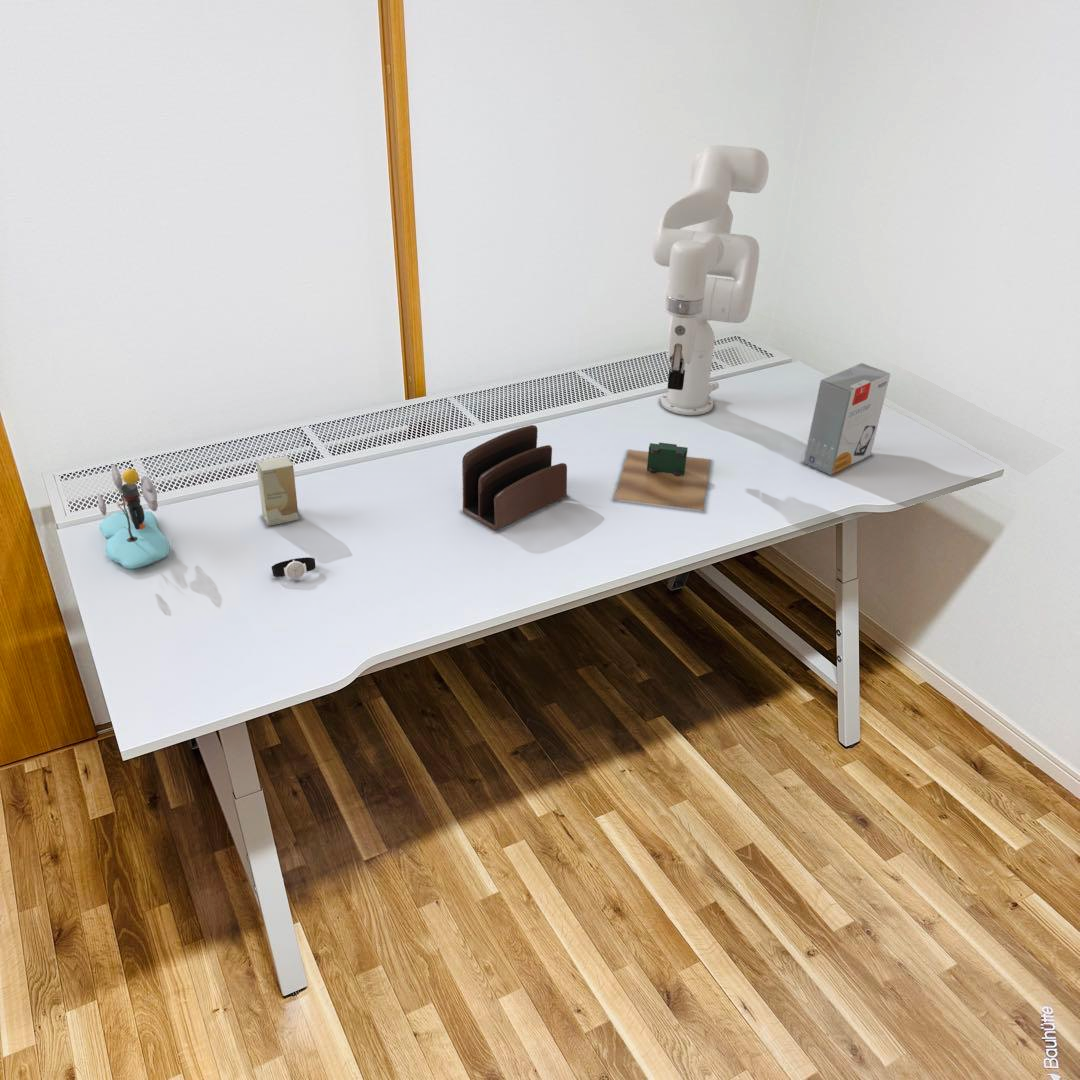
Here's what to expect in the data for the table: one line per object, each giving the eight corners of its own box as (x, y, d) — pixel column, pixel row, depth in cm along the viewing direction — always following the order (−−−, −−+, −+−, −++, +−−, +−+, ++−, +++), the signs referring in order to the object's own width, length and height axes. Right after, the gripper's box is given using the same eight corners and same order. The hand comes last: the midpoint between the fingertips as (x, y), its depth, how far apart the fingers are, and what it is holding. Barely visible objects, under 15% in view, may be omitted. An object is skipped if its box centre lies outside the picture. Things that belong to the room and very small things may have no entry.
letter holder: (461, 512, 196) (460, 449, 188) (533, 479, 208) (534, 418, 200) (495, 532, 190) (495, 468, 182) (567, 497, 202) (570, 435, 194)
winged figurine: (98, 524, 189) (80, 454, 181) (156, 511, 193) (141, 443, 185) (113, 579, 174) (94, 505, 166) (175, 564, 178) (160, 491, 170)
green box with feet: (646, 472, 210) (648, 449, 207) (648, 463, 214) (650, 440, 211) (683, 477, 209) (686, 453, 206) (685, 467, 213) (688, 444, 210)
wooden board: (628, 451, 219) (628, 449, 219) (710, 461, 216) (710, 459, 216) (614, 500, 201) (614, 498, 201) (702, 512, 198) (702, 510, 198)
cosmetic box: (268, 527, 190) (259, 471, 183) (262, 516, 193) (253, 461, 186) (301, 519, 192) (293, 464, 185) (294, 508, 195) (287, 454, 189)
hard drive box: (831, 476, 212) (849, 391, 201) (802, 463, 216) (818, 379, 205) (872, 455, 220) (891, 372, 209) (843, 442, 225) (860, 361, 214)
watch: (275, 585, 174) (272, 568, 172) (270, 570, 177) (267, 554, 175) (318, 575, 176) (316, 559, 175) (313, 561, 180) (311, 545, 178)
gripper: (700, 318, 193) (690, 404, 203) (705, 294, 205) (695, 376, 215) (661, 314, 194) (653, 400, 204) (669, 291, 206) (661, 372, 216)
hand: (675, 387), depth 209 cm, fingers closed
